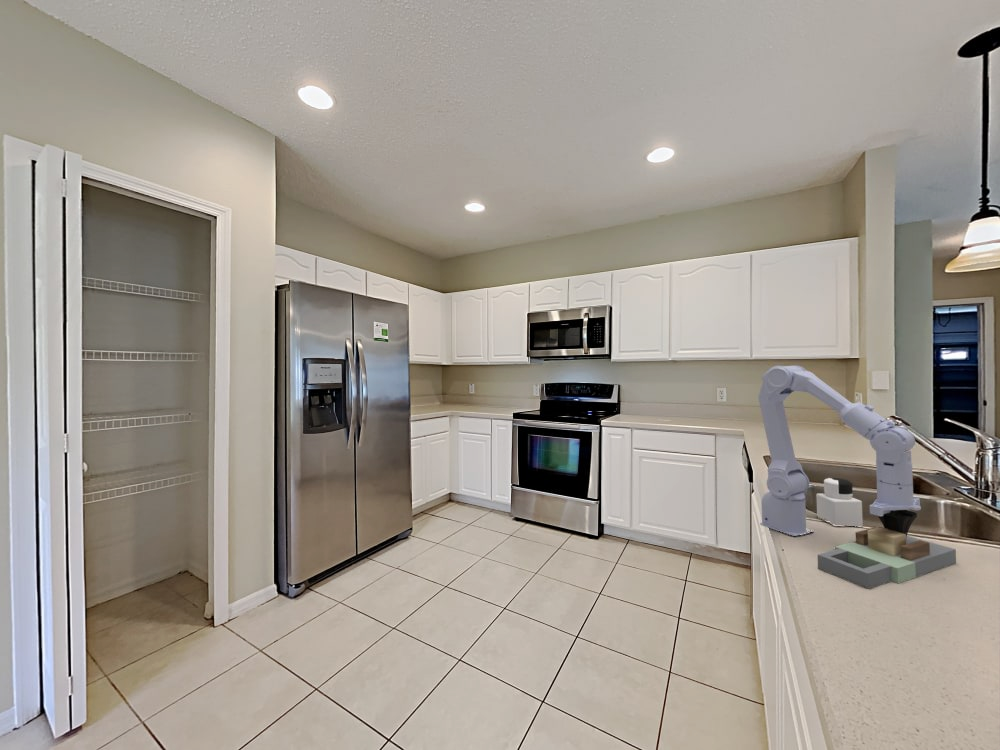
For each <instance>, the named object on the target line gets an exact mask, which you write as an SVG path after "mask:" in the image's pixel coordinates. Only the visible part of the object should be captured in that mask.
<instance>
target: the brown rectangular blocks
mask: <svg viewBox="0 0 1000 750" xmlns="http://www.w3.org/2000/svg"><path fill="white" fill-rule="evenodd" d="M874 528H876V527H875V526H873V527H871V528H867V529H862V530H859V531H856V532H855V541H856V543H857V544H860V545H863V546H865V545H868V530H871V529H874ZM921 540H922V539H921ZM921 540H919V541H916V542H912V543H909V544H906V545H902V546H901V558H903V559H906V560H909V561H912V560H915V559H918V558H921V557H924V556H927V555H930V545H929V543H928V542H929V541H928V542H924V541H925V540H924V541H921Z"/></svg>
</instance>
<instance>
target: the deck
mask: <svg viewBox="0 0 1000 750" xmlns="http://www.w3.org/2000/svg"><path fill="white" fill-rule="evenodd" d="M919 540H921V541H924V542H928V543H929V545H930V555H927V556H924V557H921V558H918V559H915V560H912V561H909V560H906V559H903V558H901V555H898V556H895V557H893V556H890V555H887V554H884V553H881V552H878V551H875V550H872V549H869V548H868V545H865V546H863V545H860V544H857V543H856V540H854V541H851V542H848V543H843V544H839V545H837V546H834V549H832V550H830V551H829V550H828V551H826V552H821V553H818V554H817V569H818V570H820V571H823V572H826V573H829V574H831V575H833V576H835V577H838V578H840V579H844V580H845V581H848V582H851V583H853V584H855V585H858V586H860V587H863V588H865V589H868V590H870V589H874V588H875V587H878V586H880V585H885V584H887V583H890V582H894V583H896V584H900V583H903V582H905V581H909V580H911V579H914V578H917V577H920V576H923V575H926V574H929V573H932V572H935V571H937V570H940V569H943V568H946V567H950V566H952V565H955V564H957V551H956V549H955V548H952V547H949V546H945V545H942V544H938V543H934V542H931V541H927V540H924V539H921V538H916V537H913V536H909V535H907V537H906V544H909V543H912V542H916V541H919Z"/></svg>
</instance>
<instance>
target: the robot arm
mask: <svg viewBox="0 0 1000 750" xmlns="http://www.w3.org/2000/svg"><path fill="white" fill-rule="evenodd" d="M761 378H762V379H761V380H762V384H761V387H760V391H759V393H758V401H759V402H758V403H759V408H760V412H761V417H762V418H761V419H762V422H763V427H764V431H765V435H766V441H767V445H768V450H769V455H770V459H771V462H770V464H769V465H768V467H767V479H766V486H767V487H766V488H767V489H768V492H765V494H764V495H762V498H761V522H760V524H759V525H760V526H762V527H765V528H769V529H772V530H774V531H777V532H779V531H780V532H779V533H782V532H784V533H783V534H785V533H787V534H786V535H788V534H790V535H793V536H797V535H800V534H804V533H808V532H811V530H810V531H808V532H807V530H806V528H807V512H806V510H807V509H806V494H805V493H806V491H808V489H809V488H810V485H811V484H810V479H809V477H808V475H807V474H806V473H805V472H804V470H803V466H802V464H801V463H800V462H799V461H798V460H797V459H796V456H795V451H794V447H793V441H792V437H791V434H790V433H791V432H790V428H789V423H788V419H787V418H788V417H787V415H786V410H785V405H784V401H785V400H786V399H787V398H788V397H789V396H790V395H791V394H792V393H794V392H801V393H802V392H803V393H808V394H809V395H811V396H813V397H814V398H815V399H818V400H819V401H821V402H822V403H824V404H826V405H827V406H829V407H830V408H832V409H833V410H835V412H838V413H839V418H840V421H841V422H842V423H844V424H845V425H846V426H848V427H849V428H851V429H852V430H853V431H855V432H856V433H858V434H859V435H860V436H862V437H863V438H864V439H866V440H869V444H870V446H871V448H872V449H873V450H874V451H875V455H876V456H875V469H876V470H875V471H876V474H875V475H876V493H877V494H876V496H877V497H876V499H875V500H874V502H873V503H872V504H869V514H870V515H874V516H877V518H878V519H879V520H880V522H881V523H882V526H883V528H886V529H889V530H893V531H896V532H900V533H904V534H906V537H907V536H908V533H909V530H910V528H911V526H912V524H913V522H914V521H915V520H916V519H917V517H918V514H917V512H916V511H920V510H921V509H922V506H921V499H920V497H914V481H913V478H914V477H913V463H912V451H911V449H913V448H914V447H915V445H916V438H915V436H914V434H913V433H912V432H911V431H909V429H908V428H907V427H904V426H902V425H896V422H894V420H888V419H886V418H885V417H883V416H882V415H880V414H878V413H877V412H876V411H874V409H875V408H874V407H873V406H872V405H871V404H864V403H862V402H855V403H853V402H851V401H850V400H848V399H847V398H846V397H844V396H843V395H841V393H839V392H838V391H837V390H835V389H834V388H832V387H831V386H830V385H828V384H827V383H825V382H824V381H823V380H821V379H820V378H819V377H818V376H816V375H815V373H813V372H812V371H809V370H806V369H805V368H804V367H802V366H800V365H784V366H783V365H775V366H771V367H770V368H769V369H768V370H766V372H765V373H764V374H763V375H762V376H761ZM911 510H912V511H911ZM813 530H814V529H812V531H813ZM790 535H789V536H790ZM793 536H792V537H793ZM797 537H798V536H797Z"/></svg>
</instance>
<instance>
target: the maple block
mask: <svg viewBox="0 0 1000 750" xmlns="http://www.w3.org/2000/svg"><path fill="white" fill-rule="evenodd" d="M873 528H874V527H873ZM902 545H906V534H904V533H900V532H896V531H893V530H889V529H886V528H884V527H882V526H879V527H875V528H874V529H871V530H868V548H869V549H872V550H875V551H878V552H881V553H884V554H887V555H890V556H893V557H895V556H898V555H901V546H902Z"/></svg>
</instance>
